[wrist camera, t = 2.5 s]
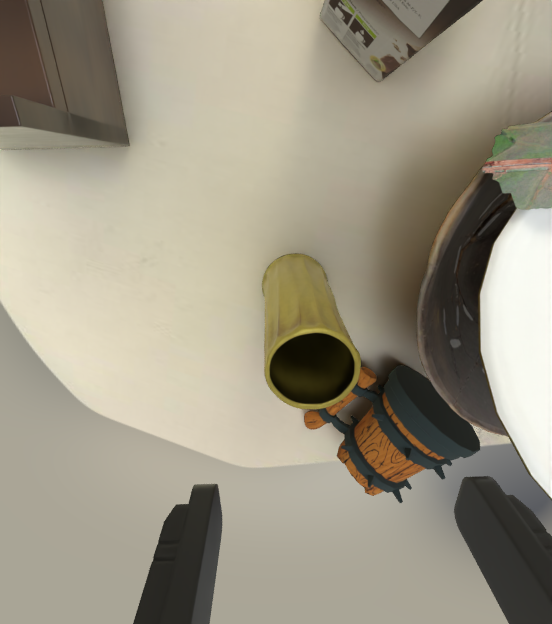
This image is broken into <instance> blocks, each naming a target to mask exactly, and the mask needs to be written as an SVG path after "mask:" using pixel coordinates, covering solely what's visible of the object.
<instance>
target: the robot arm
mask: <svg viewBox="0 0 552 624" xmlns="http://www.w3.org/2000/svg"><path fill="white" fill-rule="evenodd" d="M454 513H455V519H456V523H457V526H458V528H459V530H460V532H461V534H462V536H463V538H464V539H465V541H466V543H467V545H468V547H469V549H470V551H471V553H472V555H473V557H474V558H475V560H476V562H477V564H478V566H479V568H480V570H481V572H482V574H483V575H484V577H485V579H486V581H487V583H488V585H489V587H490V589H491V591H492V592H493V594H494V596H495V598H496V600H497V602H498V604H499V606H500V608H501V609H502V611H503V613H504V615H505V617H506V619H507V621H508V623H509V624H552V536H551V535H550V534H549V533H547V532H546V529H545V527H544V526H543V525H542V523H541V522H540V521H539V520H538V518H537V517H536V516H535V514H534V513H533V512H532V511H531V510H530V509H529V508H528V507H526V506H525V505H524V504H523V503H522V502H521V501H519V500H518V499H517V498H516V497H515V496H513V495H506V494H505V493H504V492H503V491H502V489H501V488H500V486H499V485H498V483H497V482H496V481H495V480H494V479H493V478H491V477H488V476H484V477H465V478H464V479H463V480H462V484H461V487H460V491H459V494H458V497H457V501H456V504H455V509H454ZM221 533H222V510H221V504H220V496H219V489H218V485H217V484H201V485H194V486H193V489H192V492H191V497H190V500H189V504H180V505H176V506H175V507H174V508H173V510H172V511H171V513H170V514H169V515H168V517H167V518H166V520H165V521H164V525H163V528H162V531H161V534H160V537H159V542H158V545H157V548H156V551H155V554H154V559H153V562H152V564H151V567H150V570H149V574H148V577H147V580H146V583H145V587H144V590H143V593H142V597H141V600H140V603H139V606H138V610H137V613H136V616H135V620H134V623H133V624H209V623H210V615H211V608H212V601H213V593H214V586H215V579H216V571H217V564H218V556H219V549H220V542H221Z"/></svg>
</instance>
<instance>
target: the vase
mask: <svg viewBox="0 0 552 624" xmlns="http://www.w3.org/2000/svg"><path fill="white" fill-rule="evenodd" d="M262 290H263V294H264V297H265V344H264V353H265V367H264V372H265V378H266V381H267V384H268V386H269V388H270V389H271V390H272V392H273V393H274V394H275V395H276V396H277V397H278V398H279V399H280V400H282V401H283V402H285V403H287V404H289V405H291V406H293V407H296V408H300V409H322V408H326V407H329V406H332V405H334V404H336V403H338V402H340V401H341V400H343V399H344V398H345V397H346V396H347V395H348V394H349V393H350V392H351V390H352V389H353V388H354V386H355V385H356V383H357V381H358V379H359V375H360V367H361V359H360V354H359V352H358V351H357V349H356V348H355V347H354V345H353V343H352V341H351V338H350V336H349V334H348V332H347V330H346V327H345V325H344V323H343V321H342V319H341V317H340V314H339V312H338V309H337V306H336V302H335V299H334V296H333V294H332V291H331V288H330V286H329V285H328V280H327V277H326V274H325V272H324V270H323V268H322V267H321V265H320V264H319V263H318V262H317V261H316V260H314V259H313V258H311V257H309V256H306V255H303V254H289V255H285V256H282V257H280V258H278V259H277V260H275V261H274V262H273V263H272V264H271V265H270V266H269V267H268V268H267V270H266V272H265V274H264V277H263V281H262Z"/></svg>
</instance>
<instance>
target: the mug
mask: <svg viewBox="0 0 552 624" xmlns="http://www.w3.org/2000/svg"><path fill="white" fill-rule="evenodd" d="M388 376H389V380H388V381H387V383H386V384H385V385H384V388H383V387H382V386H381V385H378V389H379V390H380V393H379V394H378V393H376V392H375V391H372V390H368V389H367V387H368V386H370V385H372V384H373V383H374V382H376V379H377V376H376V374H375V373H374V372H373V371H372V370H370V369H369V368H367V367H364V366H363V367H361V368H360V375H359V379H358V381H357V383H356V385H355V386H354V388H353V389H352V390H351V392H350V393H349V394H348V395H347V396H346V397H345V398H344V399H343V400H341V401H340V402H338V403H336V404H334V405H332V406H329V407H326V408H322V409H319V412H315V411H309V412H307V413H305V416H304V422H305V425H306V427H307V428H309V429H317V428H319V427H321V426H323V425H324V424H326V423H330V422H332V424H333V426H334V427H335V428H336V429H337V430H338V431H340V432H341V433H343V434H345V439H344V441H343V442H342V443H341V445H340V446H339V449H338V454H337V457H338V458H339V459H340V460H341V462H342V463H345V465H346V466H347V469H348V470H349V472H350V474H351V475H352V476H353V477H354V478H355V479H356V481H357V482H358V483H359V484H360V485H362V486H363V487H364V488H365V493H367V494H370V495H372V496H374V495H376V494H379V493H381V492H382V491H385V492H387V493H388V492H393V494H394V495H395V497H396V498H397V499H398V501H399V502H400V503H402V502H403V501H402V498H401V495H400V492H399V489H401V488H403V487H404V486H406V487H407V488H408V489H411V486H410V484H409V482H408V481H407V478H409V477H411V476H413V475H414V474H416V473H418V472H420V471H422V470H424V469H434V470H435V472H436V473H437V474H438V475H439V476H440V477H441V479H445V476H444V473H443V470H442V467H441V466H442V465H444V464H448V465H450V466H451V465H452V463H451V461H450V460H454V459H457V458H459V457H463V458H466V457H469V456H472V455H473V454H475V453H476V452H477V451H479V450H480V442H479V439H478V437H477V435H476V433H475V431H474V429H473V427H472V426H471V425H470V423H469V422H468V421H466V420H465V419H463V418H462V417H460V416H459V415H458V414H457V413H456V412H454V411H453V410H452V409H451V408H450V406H449V405H448V403H447V402H446V401H445V400H444V399H443V398H442V397H441V396H440V395H439V393H438V392H437V391H436V389H435V388H434V387H433V385H432V383H431V382H430V381H429V380H427V379H426V378H425V377H423V376H422V375H421V374H419V373H418V372H416V371H414V370H412V369H411V368H409V367H407V366H401V365H398V366H397V367H396V368H395V369H394V370H393V371H392V372H391V373H390V374H389V375H388ZM357 396H359V397H361V396H364V397H366V398H367V399H369V400H370V401H371V402H372V403H373V406H372V408H371V409H370V410H369V411H368V412H367V414H366V415H365V416H364V417H363V418H362V419H361V421H358V420H357V419H356V418H355V417H354V416H353V415H352V416H351V419H352V421H353V423H352V424H351V425H348V424H345V423H344V422H342V421H341V420H340V419H339V418H338V417H337V415H336V413H337V412H339V411H340V410H341V409H342V408H344V407H345V406H346V405H347V404H348V403H350V402H351V401H352V400H353V399H355V398H356V397H357Z"/></svg>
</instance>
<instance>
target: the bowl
mask: <svg viewBox="0 0 552 624" xmlns="http://www.w3.org/2000/svg"><path fill="white" fill-rule="evenodd" d="M540 122H552V111H551V112H550V113H548V114H547V115H545V116H544V117H542V118H541V119H539V120H538V121H536V122H534V123H540ZM491 157H493V155H492V156H491ZM484 166H486V165H485V164H484ZM482 169H483V167H482V168H481V169H480V170H479V172H478V173H477V174H476V176H475V177H474V178H473V180H472V181H471V182H470V184H469V185H468V186H467V188H466V189H465V190H464V192H463V193H462V194H461V195H460V197H459V198H458V199H457V201H456V202H455V204H454V205H453V207H452V208H451V209H450V211H449V212H448V214H447V216H446V218H445V220H444V221H443V223H442V225H441V227H440V229H439V231H438V233H437V235H436V237H435V239H434V242H433V245H432V248H431V252H430V256H429V260H428V264H427V268H426V272H425V275H424V277H423V280H422V283H421V288H420V294H419V299H418V307H417V335H416V336H417V344H418V350H419V356H420V359H421V362H422V365H423V367H424V370H425V372H426V374H427V375H428V377H429V379H430V381H431V383H432V385H433V387H434V388H435V389H436V391H437V392H438V393H439V395H440V396H441V397H442V398H443V399H444V400H445V401H446V402H447V403H448V405H449V406H450V408H451V409H452V410H453V411H454V412H456V413H457V414H458V415H459V416H460V417H462V418H463V419H465V420H466V421H468V422H469V423H471V424H473V425H475V426H478V427H480V428H482V429H484V430H486V431H488V432H491V433H495V434H500V435H505V436H508V435H507V433H506V431H505V430H504V428H503V426H502V424H501V422H500V420H499V419H498V417H497V415H496V413H495V409H494V406H493V402H492V398H491V395H490V391H489V388H488V384H487V380H486V377H485V373H484V369H483V366H482V362H481V358H480V355H479V328H478V293H479V290H480V286H481V283H482V279H483V276H484V272H485V269H486V265H487V261H488V258H489V254H490V251H491V247H492V244H493V243H494V241H495V240H496V238H497V237H498V235H499V234H500V232H501V231H502V229H503V227H504V226H505V224H506V223H507V221H508V220H509V218H510V217H511V215H512V214H513V212H514V211H515V209H516V206H515V203H514V201H513V197H512V195H511V193H502V190H501V186H500V184H499V182H498V181H496V180H493V179H492V177H493V173H483V171H482Z"/></svg>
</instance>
